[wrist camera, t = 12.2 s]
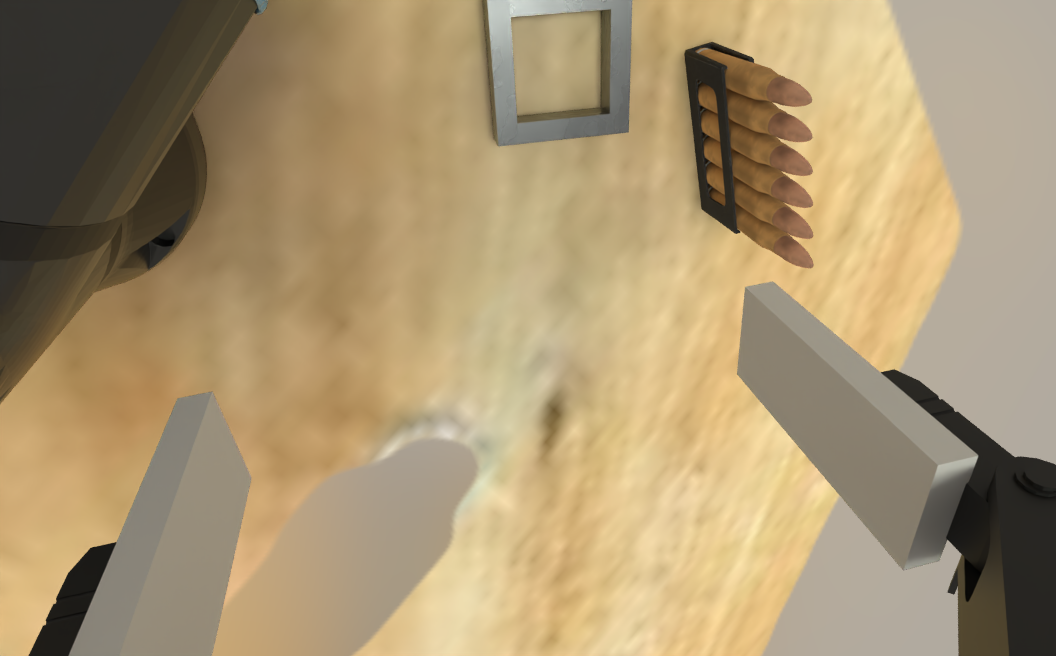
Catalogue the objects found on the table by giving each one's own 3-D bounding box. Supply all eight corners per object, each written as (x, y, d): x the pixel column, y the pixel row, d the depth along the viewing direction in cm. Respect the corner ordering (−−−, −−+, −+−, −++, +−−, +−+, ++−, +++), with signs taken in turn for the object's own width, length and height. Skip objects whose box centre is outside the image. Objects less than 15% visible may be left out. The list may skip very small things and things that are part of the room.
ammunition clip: (684, 50, 39) (790, 86, 29) (712, 41, 39) (829, 73, 29) (701, 210, 45) (796, 286, 35) (726, 202, 45) (828, 276, 35)
